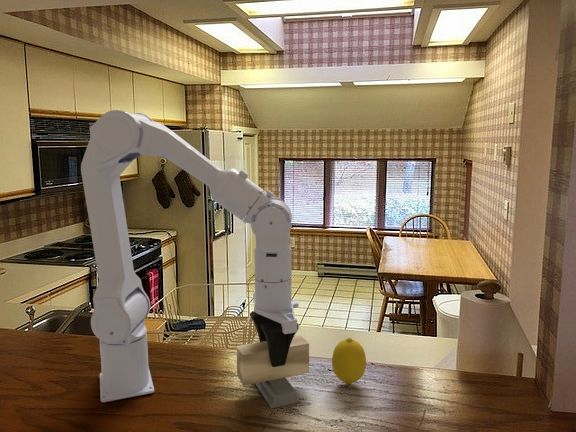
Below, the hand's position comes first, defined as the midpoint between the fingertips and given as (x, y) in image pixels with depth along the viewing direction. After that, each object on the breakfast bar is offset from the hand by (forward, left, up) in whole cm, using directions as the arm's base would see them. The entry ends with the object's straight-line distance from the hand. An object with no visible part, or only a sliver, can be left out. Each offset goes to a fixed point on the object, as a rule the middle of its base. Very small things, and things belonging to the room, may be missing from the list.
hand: (273, 359), depth 77 cm
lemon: (+3, +12, -5) cm, 13 cm away
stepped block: (0, 0, -5) cm, 5 cm away
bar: (0, 0, -2) cm, 2 cm away
